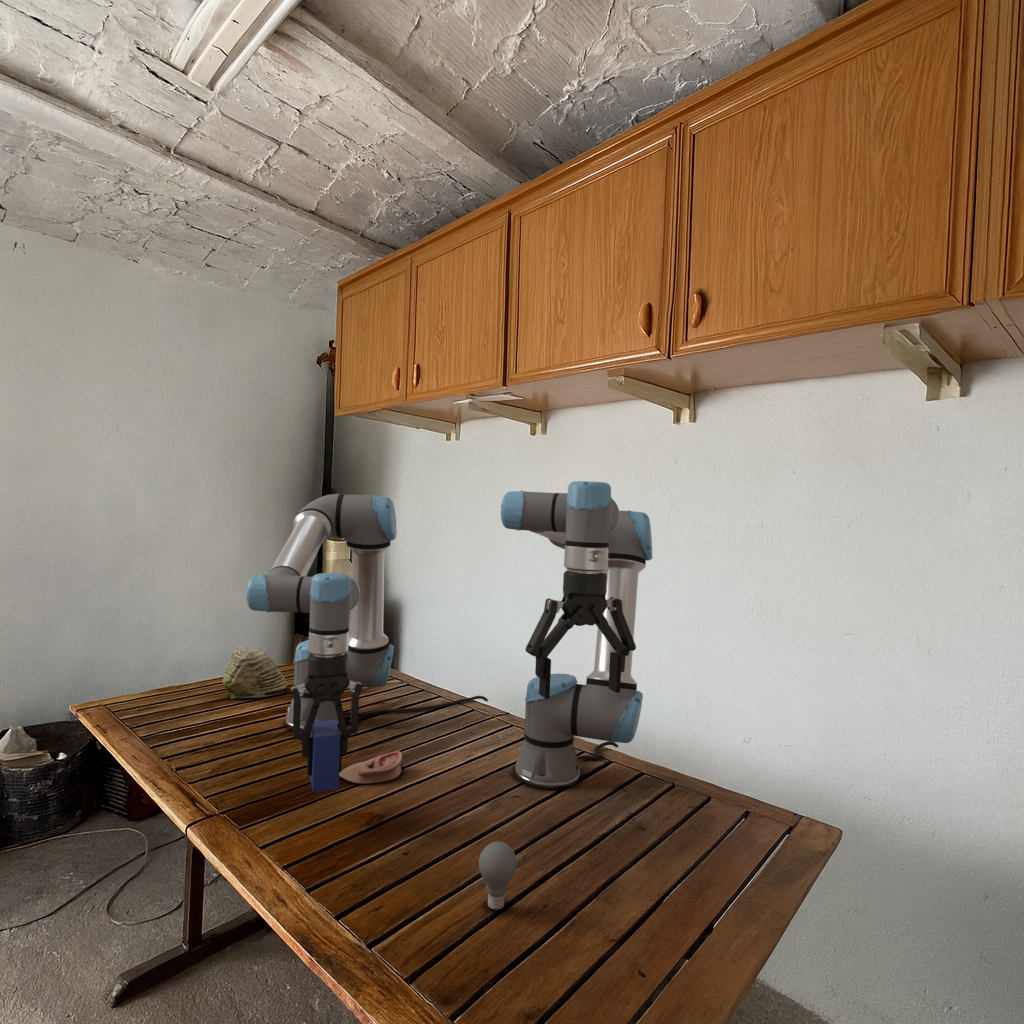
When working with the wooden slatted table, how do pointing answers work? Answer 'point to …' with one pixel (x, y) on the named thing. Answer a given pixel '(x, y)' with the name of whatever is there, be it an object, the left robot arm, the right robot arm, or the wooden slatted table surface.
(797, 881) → the wooden slatted table surface
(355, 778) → the anatomical model
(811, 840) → the wooden slatted table surface
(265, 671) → the fossil
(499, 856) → the light bulb
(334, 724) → the block
